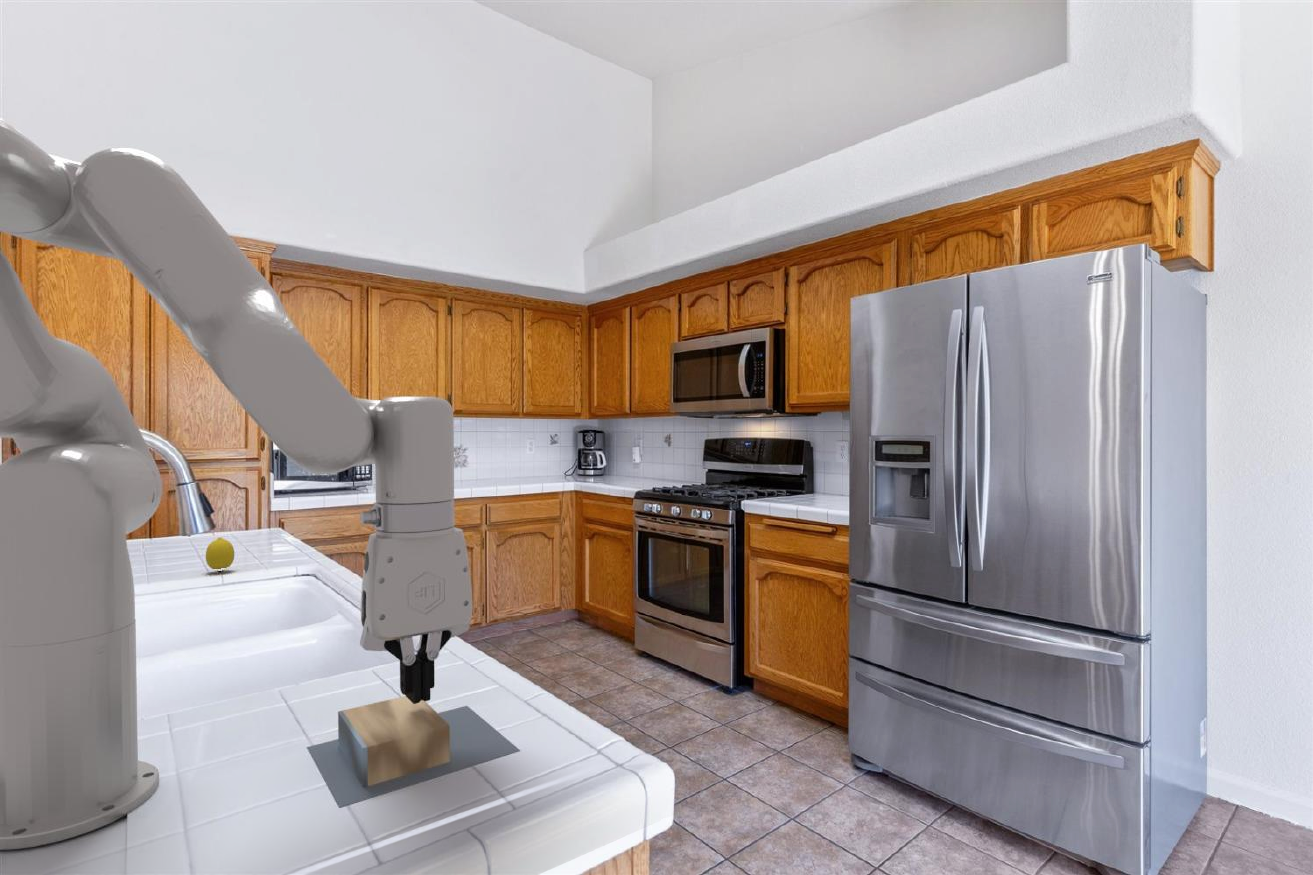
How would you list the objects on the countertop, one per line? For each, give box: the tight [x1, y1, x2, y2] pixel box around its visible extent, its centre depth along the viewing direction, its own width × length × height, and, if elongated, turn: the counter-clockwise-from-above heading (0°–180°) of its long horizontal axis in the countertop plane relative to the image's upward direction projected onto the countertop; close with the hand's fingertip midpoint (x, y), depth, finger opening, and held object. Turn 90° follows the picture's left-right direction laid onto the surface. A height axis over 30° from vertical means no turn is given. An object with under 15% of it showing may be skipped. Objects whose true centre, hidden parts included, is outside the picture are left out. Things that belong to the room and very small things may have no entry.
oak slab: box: [337, 695, 450, 788], centre depth 69 cm, size 4×10×8 cm
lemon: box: [205, 537, 235, 570], centre depth 156 cm, size 6×6×8 cm
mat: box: [306, 705, 521, 809], centre depth 70 cm, size 17×14×1 cm
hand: (417, 697), depth 70 cm, fingers closed
